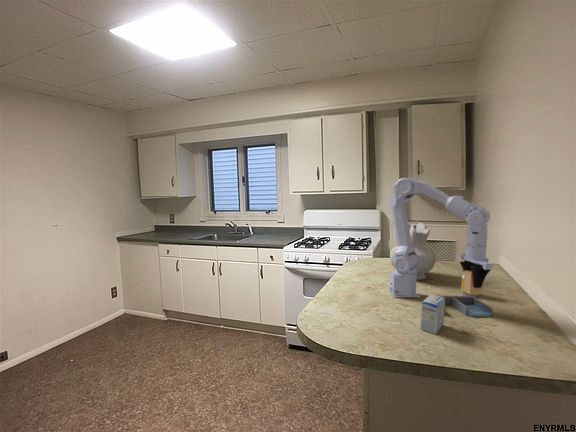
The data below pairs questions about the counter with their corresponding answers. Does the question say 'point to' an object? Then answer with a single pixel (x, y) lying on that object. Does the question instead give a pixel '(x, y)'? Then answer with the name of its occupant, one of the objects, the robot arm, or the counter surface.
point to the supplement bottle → (464, 291)
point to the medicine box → (432, 313)
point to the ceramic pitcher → (419, 249)
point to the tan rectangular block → (470, 284)
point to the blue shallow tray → (470, 310)
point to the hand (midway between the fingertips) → (473, 285)
